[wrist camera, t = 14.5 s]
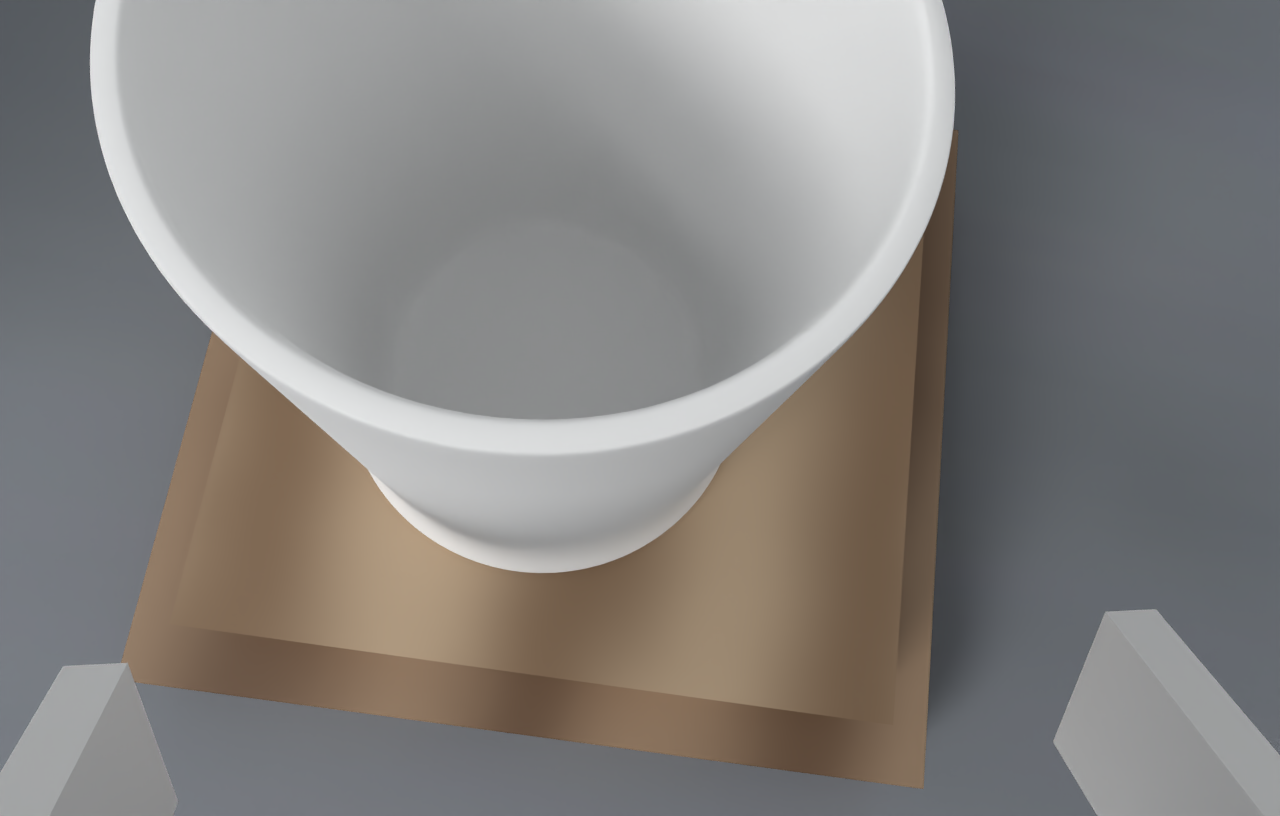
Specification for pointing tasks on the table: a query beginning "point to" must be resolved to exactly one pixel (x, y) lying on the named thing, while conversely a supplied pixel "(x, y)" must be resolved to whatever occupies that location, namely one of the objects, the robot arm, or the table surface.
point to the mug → (529, 228)
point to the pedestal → (588, 576)
